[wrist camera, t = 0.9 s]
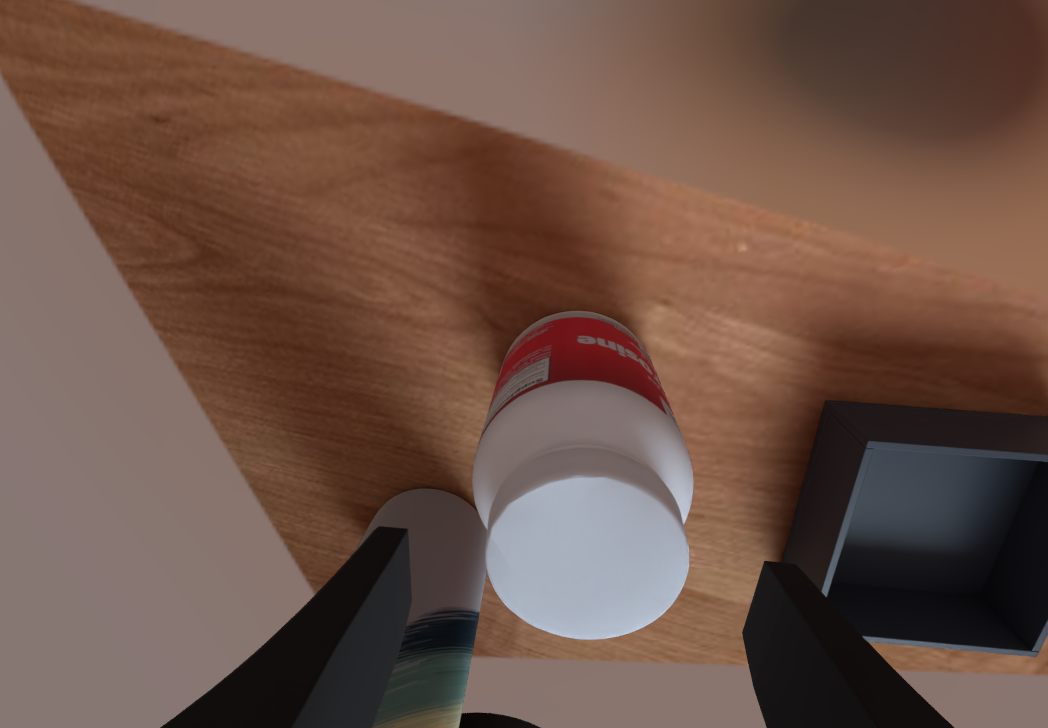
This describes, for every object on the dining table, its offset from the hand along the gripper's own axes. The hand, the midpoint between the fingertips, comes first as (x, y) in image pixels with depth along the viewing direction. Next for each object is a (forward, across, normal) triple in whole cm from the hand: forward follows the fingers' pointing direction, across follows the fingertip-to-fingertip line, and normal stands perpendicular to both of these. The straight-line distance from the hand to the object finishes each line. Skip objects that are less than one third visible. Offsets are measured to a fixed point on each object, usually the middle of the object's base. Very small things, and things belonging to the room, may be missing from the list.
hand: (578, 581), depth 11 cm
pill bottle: (+12, 0, +2) cm, 12 cm away
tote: (+12, -15, +6) cm, 20 cm away
